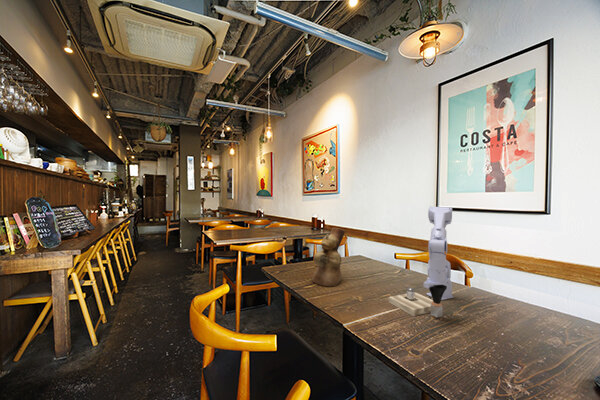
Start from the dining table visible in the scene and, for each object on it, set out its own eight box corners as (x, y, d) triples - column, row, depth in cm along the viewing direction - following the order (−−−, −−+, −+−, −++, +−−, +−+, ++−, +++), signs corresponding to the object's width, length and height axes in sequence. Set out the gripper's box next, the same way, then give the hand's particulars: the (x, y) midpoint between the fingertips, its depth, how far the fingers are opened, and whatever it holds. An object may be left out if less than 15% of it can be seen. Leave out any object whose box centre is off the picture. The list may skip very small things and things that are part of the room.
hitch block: (415, 297, 120) (415, 292, 120) (441, 309, 107) (441, 304, 107) (388, 302, 114) (389, 296, 114) (413, 316, 101) (413, 309, 101)
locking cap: (435, 310, 103) (435, 300, 103) (443, 314, 99) (443, 303, 99) (429, 312, 101) (429, 301, 101) (437, 316, 98) (437, 305, 98)
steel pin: (410, 302, 115) (411, 287, 114) (416, 305, 112) (416, 289, 111) (405, 303, 114) (405, 287, 113) (410, 306, 111) (410, 290, 110)
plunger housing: (435, 313, 102) (435, 303, 102) (442, 316, 100) (442, 306, 100) (430, 314, 101) (430, 304, 101) (436, 317, 98) (437, 307, 98)
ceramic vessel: (306, 281, 141) (307, 228, 140) (332, 273, 155) (332, 225, 155) (327, 289, 129) (328, 231, 129) (353, 280, 144) (353, 228, 143)
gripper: (438, 264, 107) (437, 296, 107) (416, 268, 100) (416, 302, 100) (455, 268, 101) (454, 302, 101) (433, 273, 94) (432, 309, 94)
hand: (436, 302), depth 100 cm, fingers closed, pressing on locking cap
